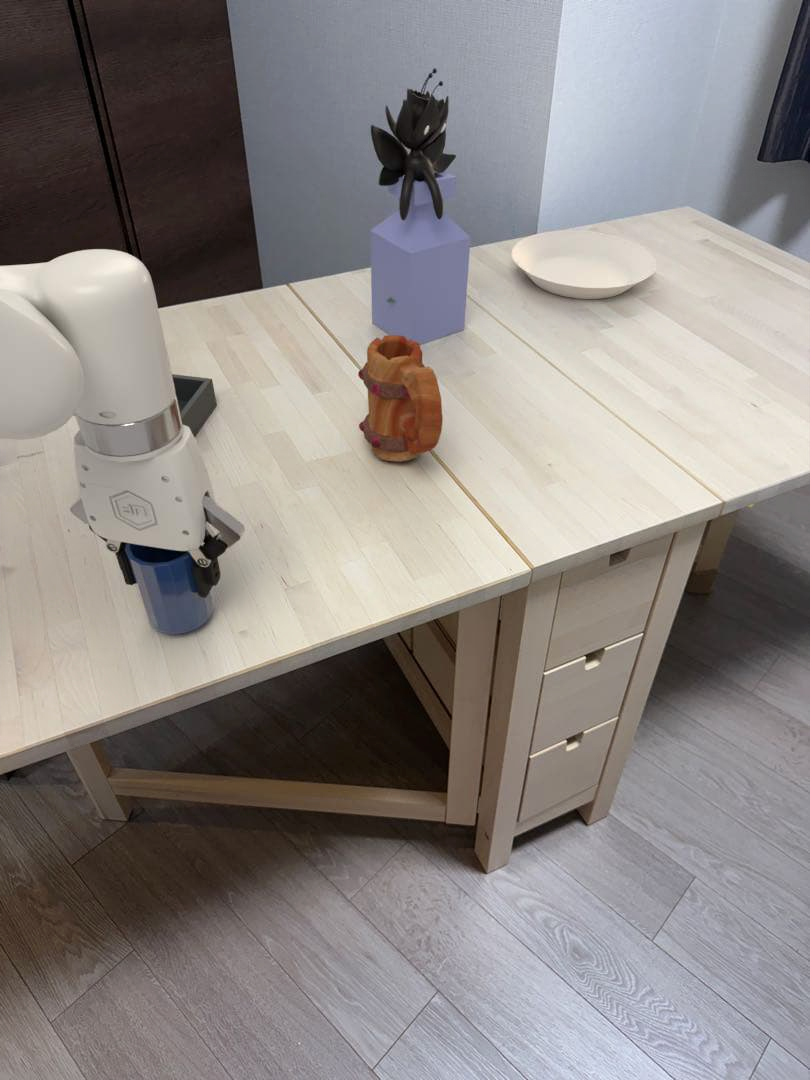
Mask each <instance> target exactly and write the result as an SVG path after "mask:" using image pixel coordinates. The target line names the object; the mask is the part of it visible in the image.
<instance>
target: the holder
mask: <svg viewBox="0 0 810 1080" xmlns="http://www.w3.org/2000/svg"><path fill="white" fill-rule="evenodd" d="M172 377H173V382H174V387H175V392H176V397H177V401H178V406H179V411H180V416H181V420H182V424H183V425H185V426H188V427H189V428H190V430H191V432H192V434H193V436H194V438H195V437H196V435H198V433H199V431H200V430H201V429H202V427H203V426H204V424H205V423H206V422H207V420H208V419H209V417H210V416H211V415H212V413H213V412H214V410H215V408H216V407H217V406H218V403H217V398H216V392H215V387H214V382H213V378H208V377H199V376H192V375H183V374H175V373H172Z"/></svg>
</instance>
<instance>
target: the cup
mask: <svg viewBox="0 0 810 1080" xmlns="http://www.w3.org/2000/svg"><path fill="white" fill-rule="evenodd" d="M201 545H203V543H202V544H201ZM125 552H126V555H127V558H128V561H129V565H130V568H131V571H132V574H133V577H134V581H135V584H134V585H135V586H136V590H137V593H138V597H139V600H140V602H141V603H140V604H141V606H142V609H143V613H144V615H145V618H146V620H147V622H148V624H149V625H150V626H151V627H152V628H153V629H154V630H157V631H158V632H160V633H164V634H168V635H169V634H170V635H178V634H184V633H188V632H191V631H194V630H196V629H197V628H199V627H201V626H202V625H204V624H205V623H206V622H207V621H208V620H209V619H210V617H211V616H212V613H213V611H214V608H215V603H214V595H213V590H212V589H213V588H211V590H210V592H209V594H208V596H207V597H206V598H204V597H200V596H199V595H198V592H197V588H196V584H195V580H194V575H193V571H192V566H193V564H194V562H195V560H194V559H193V557H192V556H191V555H190V553H189V552H188V551H177V550H169V549H163V548H156V547H150V546H143V545H137V544H131V543H126V545H125Z"/></svg>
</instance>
